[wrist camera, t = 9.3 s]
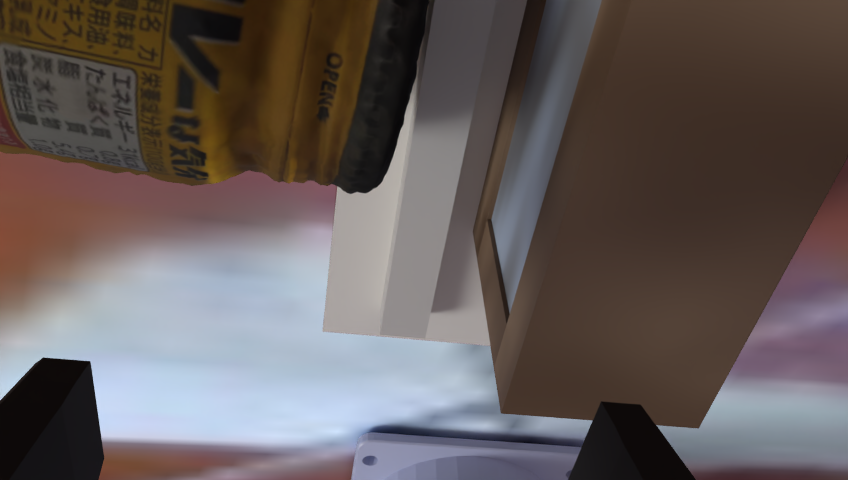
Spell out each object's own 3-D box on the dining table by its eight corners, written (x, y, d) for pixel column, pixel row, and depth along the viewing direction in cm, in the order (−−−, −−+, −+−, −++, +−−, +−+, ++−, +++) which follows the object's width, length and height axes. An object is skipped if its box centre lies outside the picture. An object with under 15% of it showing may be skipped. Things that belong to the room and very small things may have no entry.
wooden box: (622, 246, 20) (698, 428, 15) (472, 230, 19) (500, 413, 15) (838, -315, 13) (1106, -315, 8) (612, -362, 12) (755, -392, 8)
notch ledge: (684, 339, 23) (706, 388, 22) (324, 307, 22) (319, 357, 20) (1136, -596, 12) (1256, -642, 10) (437, -784, 10) (446, -869, 9)
